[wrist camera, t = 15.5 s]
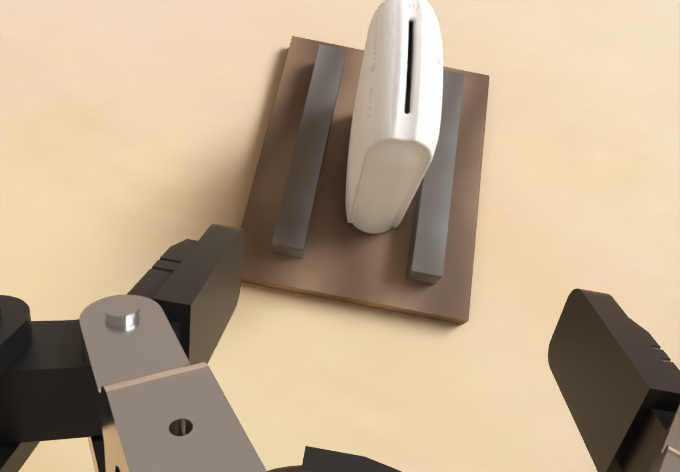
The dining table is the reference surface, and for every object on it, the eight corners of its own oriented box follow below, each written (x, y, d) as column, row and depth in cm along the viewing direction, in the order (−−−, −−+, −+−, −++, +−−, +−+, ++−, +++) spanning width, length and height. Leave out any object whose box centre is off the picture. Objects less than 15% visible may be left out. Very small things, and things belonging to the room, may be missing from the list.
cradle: (484, 85, 41) (498, 58, 38) (462, 324, 34) (478, 314, 31) (292, 46, 41) (292, 16, 38) (230, 279, 34) (224, 265, 31)
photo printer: (350, 105, 38) (374, -32, 27) (406, 112, 38) (454, -22, 27) (339, 231, 35) (361, 135, 23) (400, 238, 35) (453, 146, 23)
